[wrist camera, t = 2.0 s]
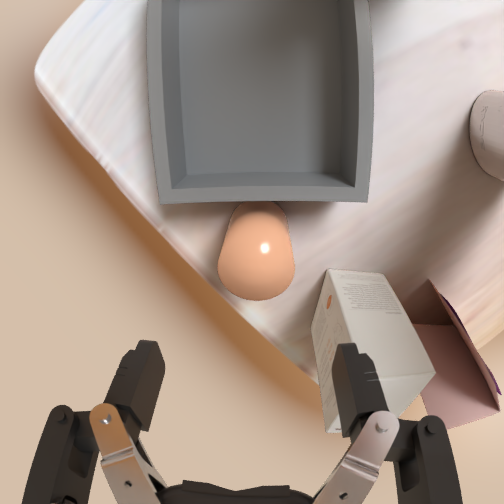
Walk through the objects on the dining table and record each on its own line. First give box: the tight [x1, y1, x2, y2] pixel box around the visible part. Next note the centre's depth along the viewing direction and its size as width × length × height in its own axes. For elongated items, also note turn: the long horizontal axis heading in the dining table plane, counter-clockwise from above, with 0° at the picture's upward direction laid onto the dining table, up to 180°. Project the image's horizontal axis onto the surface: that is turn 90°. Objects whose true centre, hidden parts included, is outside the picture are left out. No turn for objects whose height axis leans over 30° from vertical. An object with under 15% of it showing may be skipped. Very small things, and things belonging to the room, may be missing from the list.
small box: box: [311, 269, 436, 433], centre depth 22 cm, size 8×6×13 cm
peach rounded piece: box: [217, 201, 295, 301], centre depth 21 cm, size 5×5×7 cm
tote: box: [147, 0, 374, 204], centre depth 15 cm, size 14×20×5 cm
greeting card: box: [412, 280, 501, 430], centre depth 23 cm, size 11×7×15 cm, turn 46°
